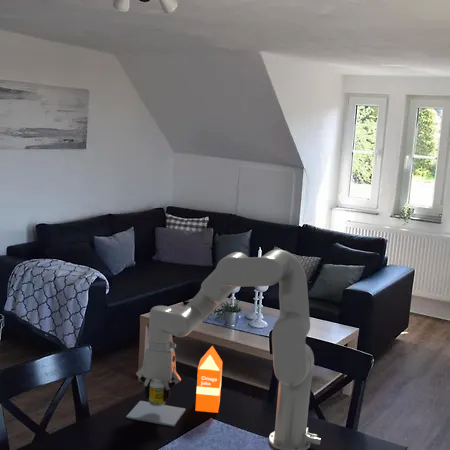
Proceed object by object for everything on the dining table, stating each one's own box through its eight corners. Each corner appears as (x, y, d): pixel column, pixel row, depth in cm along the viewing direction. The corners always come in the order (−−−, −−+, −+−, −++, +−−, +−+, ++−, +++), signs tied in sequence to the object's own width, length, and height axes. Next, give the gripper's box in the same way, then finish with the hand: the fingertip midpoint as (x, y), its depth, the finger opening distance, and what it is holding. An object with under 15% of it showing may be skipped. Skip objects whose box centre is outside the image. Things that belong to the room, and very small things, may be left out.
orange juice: (220, 401, 219) (224, 346, 215) (218, 412, 210) (222, 355, 207) (197, 399, 219) (201, 344, 216) (194, 410, 210) (198, 353, 207)
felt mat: (185, 410, 210) (185, 408, 210) (174, 426, 199) (174, 424, 199) (140, 402, 214) (140, 400, 214) (126, 417, 202) (126, 416, 202)
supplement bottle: (160, 398, 209) (162, 371, 208) (168, 405, 205) (169, 377, 203) (145, 401, 206) (147, 373, 205) (153, 408, 202) (154, 380, 200)
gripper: (189, 345, 204) (186, 397, 207) (139, 337, 208) (136, 389, 211) (182, 352, 197) (178, 407, 200) (130, 344, 201) (128, 398, 204)
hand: (157, 397), depth 205 cm, fingers closed on supplement bottle, 5 cm apart
